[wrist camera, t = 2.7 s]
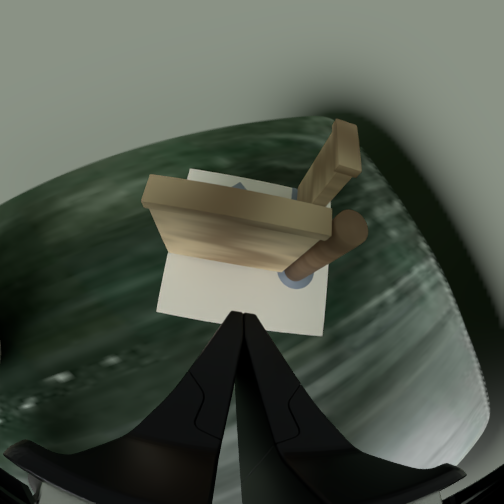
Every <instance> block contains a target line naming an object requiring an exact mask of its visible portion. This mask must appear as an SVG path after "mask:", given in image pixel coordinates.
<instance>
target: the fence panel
mask: <svg viewBox="0 0 504 504" xmlns="http://www.w3.org/2000/svg"><path fill="white" fill-rule="evenodd" d="M141 202H142V204H143V206H144V208H149V209H150V212H151V214H152V216H153V219H154V221H155V223H156V226H157V228H158V230H159V232H160V234H161V237H162V239H163V241H164V243H165V245H166V248H167V250H168V252H169V253H174V254H179V255H185V256H190V257H196V258H201V259H207V260H212V261H218V262H224V263H229V264H235V265H241V266H247V267H252V268H258V269H264V270H270V271H276V272H282V271H284V270H285V269H286V268H287V267H288V266H290V265H291V264H292V263H293V262H294V261H296V260H297V259H298V258H299V257H300V256H302V255H303V254H304V253H305V252H306V251H307V250H309V249H310V248H311V247H312V246H313V245H315V244H316V243H317V242H318V241H319V240H323V241H326V240H327V239H328V238H330V237H331V234H332V209H331V208H327V207H323V206H319V205H315V204H310V203H306V202H302V201H297V200H293V199H288V198H284V197H279V196H274V195H269V194H264V193H259V192H254V191H249V190H244V189H239V188H233V187H228V186H222V185H217V184H211V183H205V182H199V181H193V180H186V179H180V178H173V177H166V176H159V175H152V174H150V176H149V179H148V182H147V185H146V188H145V191H144V194H143V197H142V200H141Z"/></svg>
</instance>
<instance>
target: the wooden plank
mask: <svg viewBox="0 0 504 504" xmlns="http://www.w3.org/2000/svg"><path fill="white" fill-rule="evenodd" d="M361 172H362V168H361V157H360V148H359V139H358V132H357V126H356V125H354V124H351V123H348V122H345V121H342V120H339V119H336V120H335V121H334V123H333V125H332V133H331V134H330V136H329V138H328V139H327V141H326V143H325V144H324V146H323V147H322V149H321V151H320V152H319V154H318V156H317V157H316V159H315V160H314V162H313V164H312V165H311V167H310V169H309V170H308V172H307V173H306V175H305V177H304V178H303V180H302V182H301V183H300V185H299V186H298V193H297V201H302V202H306V203H310V204H315V205H319V206H323V207H326V206H327V205H328V204H329V202H330V201H331V200H332V199H333V198H334V197H335V196H336V195H337V194H338V192H339V191H340V190H341V189H342V188H343V187H344V186H345V185H346V184H347V182H348V181H349V180H350V179H351V178H352V177H354V178H356V177H357V176H358V175H359V174H360V173H361ZM367 236H368V226H367V223H366V221H365V220H364V218H363V217H362V216H361V215H360V214H359V213H358V212H356V211H353V210H344V211H342V212H340V213H339V214H338V215H337V216H336V217H335V218H334V219H333V220H332V234H331V237H330V238H328V239H327V240H326V241H323V240H319V241H318V242H317V243H316V244H315V245H313V246H312V247H311V248H310V249H309V250H307V251H306V252H305V253H304V254H303V255H302V256H300V257H299V258H298V259H297V260H296V261H294V262H293V263H292V264H291V265H290V266H288V267H287V268H286V269H285V270H284V272H285V275H286V276H287V278H289V279H290V280H292V281H300V280H302V279H304V278H306V277H307V276H309V275H311V274H312V273H314V272H316V271H317V270H319V269H321V268H322V267H324V266H326V265H327V264H329V263H331V262H332V261H334V260H336V259H337V258H339V257H341V256H342V255H344V254H346V253H347V252H349V251H350V250H352V249H354V248H355V247H357V246H358V245H360V244H362V243H363V242H364V241H365V240H366V238H367Z"/></svg>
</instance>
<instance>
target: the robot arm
mask: <svg viewBox="0 0 504 504" xmlns="http://www.w3.org/2000/svg"><path fill="white" fill-rule="evenodd" d="M234 383H235V395H236V414H237V432H238V448H239V463H240V477H241V483H242V484H241V491H242V503H243V504H504V464H502V465H501V466H499V467H498V468H497V469H495V470H494V471H492V472H491V473H489V474H488V475H486V476H484V477H483V478H481V479H480V480H478V481H476V482H475V483H473V484H471V485H470V486H468V487H466V488H464V489H462V490H461V491H459V492H457V493H455V494H453V495H451V496H449V497H447V498H446V499H443V500H442V499H441V495H440V492H439V491H441V490H443V489H445V488H447V487H448V486H450V485H452V484H454V483H456V482H457V481H459V480H460V479H462V478H464V477H465V476H466V475H467V474H466V473H465V472H464V471H463V470H462V469H461V468H459V467H457V466H454V465H451V464H449V463H445V464H442V465H440V466H437V467H435V468H431V469H416V468H412V467H408V466H404V465H401V464H397V463H394V462H391V461H387V460H384V459H381V458H378V457H375V456H372V455H369V454H366V453H364V452H362V451H360V450H358V449H357V448H355V447H354V446H353V445H352V444H351V443H350V442H349V441H348V440H347V439H346V438H345V437H344V436H343V435H342V434H341V433H340V432H339V431H338V430H337V429H336V427H335V426H334V425H333V424H332V423H331V422H330V421H329V420H328V419H327V417H326V416H325V415H324V414H323V413H322V412H321V410H320V409H319V408H318V407H317V406H316V404H315V403H314V402H313V400H312V399H311V397H310V396H309V395H308V393H307V392H306V390H305V389H304V387H303V386H302V385H300V384H301V383H300V382H299V380H298V379H297V377H296V376H295V374H294V373H293V371H292V370H291V368H290V367H289V365H288V364H287V362H286V361H285V359H284V358H283V356H282V354H281V353H280V351H279V350H278V348H277V347H276V345H275V344H274V342H273V341H272V339H271V338H270V336H269V334H268V333H267V331H266V330H265V328H264V327H263V325H262V324H261V322H260V320H259V319H258V317H257V316H256V315H255V314H252V313H242V312H239V311H230V313H229V314H228V315H227V317H226V318H225V320H224V321H223V323H222V324H221V325H220V327H219V328H218V330H217V331H216V332H215V334H214V335H213V337H212V338H211V340H210V341H209V342H208V344H207V345H206V347H205V348H204V349H203V351H202V352H201V354H200V355H199V356H198V358H197V359H196V361H195V362H194V363H193V365H192V366H191V368H190V369H189V370H188V372H187V373H186V374H185V376H184V377H183V378H182V380H181V381H180V382H179V384H178V385H177V386H176V387H175V389H174V390H173V391H172V392H171V393H170V394H169V395H168V396H167V397H166V398H165V400H164V401H163V402H162V403H161V404H160V405H159V406H158V407H156V408H155V409H154V410H153V411H152V412H151V413H150V414H149V415H148V416H147V417H146V418H145V419H144V420H143V421H142V422H141V423H140V424H139V425H138V426H136V427H135V428H134V429H133V430H132V431H130V432H129V433H127V434H126V435H124V436H122V437H120V438H118V439H115V440H113V441H110V442H107V443H105V444H102V445H99V446H96V447H94V448H91V449H88V450H85V451H82V452H79V453H75V454H66V455H63V454H58V453H54V452H52V451H49V450H47V449H45V448H44V447H42V446H40V445H38V444H36V443H34V442H32V441H30V440H22V441H20V442H18V443H15V444H14V445H12V446H10V447H9V448H8V449H7V450H6V451H5V452H4V453H3V455H4V456H5V457H6V458H7V459H9V460H10V461H11V462H13V463H14V464H16V465H17V466H18V467H20V468H21V469H23V470H24V471H26V472H27V473H29V474H30V475H32V476H34V477H35V478H37V479H38V480H40V481H42V484H41V487H40V491H39V495H38V498H37V502H36V501H35V499H34V497H33V495H32V493H31V491H30V489H29V487H28V486H27V485H25V484H24V483H22V482H21V481H19V480H18V479H16V478H15V477H13V476H12V475H10V474H9V473H7V472H6V471H4V470H3V469H2V468H0V504H212V500H213V493H214V486H215V480H216V473H217V466H218V459H219V454H220V449H221V444H222V439H223V435H224V430H225V426H226V421H227V416H228V412H229V407H230V402H231V397H232V393H233V388H234Z"/></svg>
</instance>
